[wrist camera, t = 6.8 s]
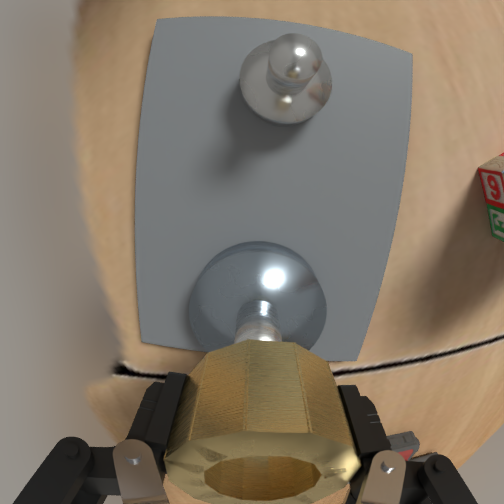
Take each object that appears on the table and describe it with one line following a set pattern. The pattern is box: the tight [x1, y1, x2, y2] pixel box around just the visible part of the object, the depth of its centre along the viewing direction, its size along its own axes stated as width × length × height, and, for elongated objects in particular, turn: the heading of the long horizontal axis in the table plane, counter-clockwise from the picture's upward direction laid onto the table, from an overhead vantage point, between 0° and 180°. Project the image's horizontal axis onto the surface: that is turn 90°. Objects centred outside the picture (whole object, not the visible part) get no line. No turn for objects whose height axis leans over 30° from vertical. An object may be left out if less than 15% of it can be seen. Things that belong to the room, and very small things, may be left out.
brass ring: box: [163, 339, 361, 504], centre depth 9 cm, size 6×6×4 cm
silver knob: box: [239, 33, 332, 126], centre depth 12 cm, size 5×5×6 cm
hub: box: [189, 241, 327, 352], centre depth 16 cm, size 8×8×6 cm
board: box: [135, 17, 412, 361], centre depth 17 cm, size 22×16×1 cm
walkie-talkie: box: [348, 431, 438, 484], centre depth 25 cm, size 9×4×20 cm
